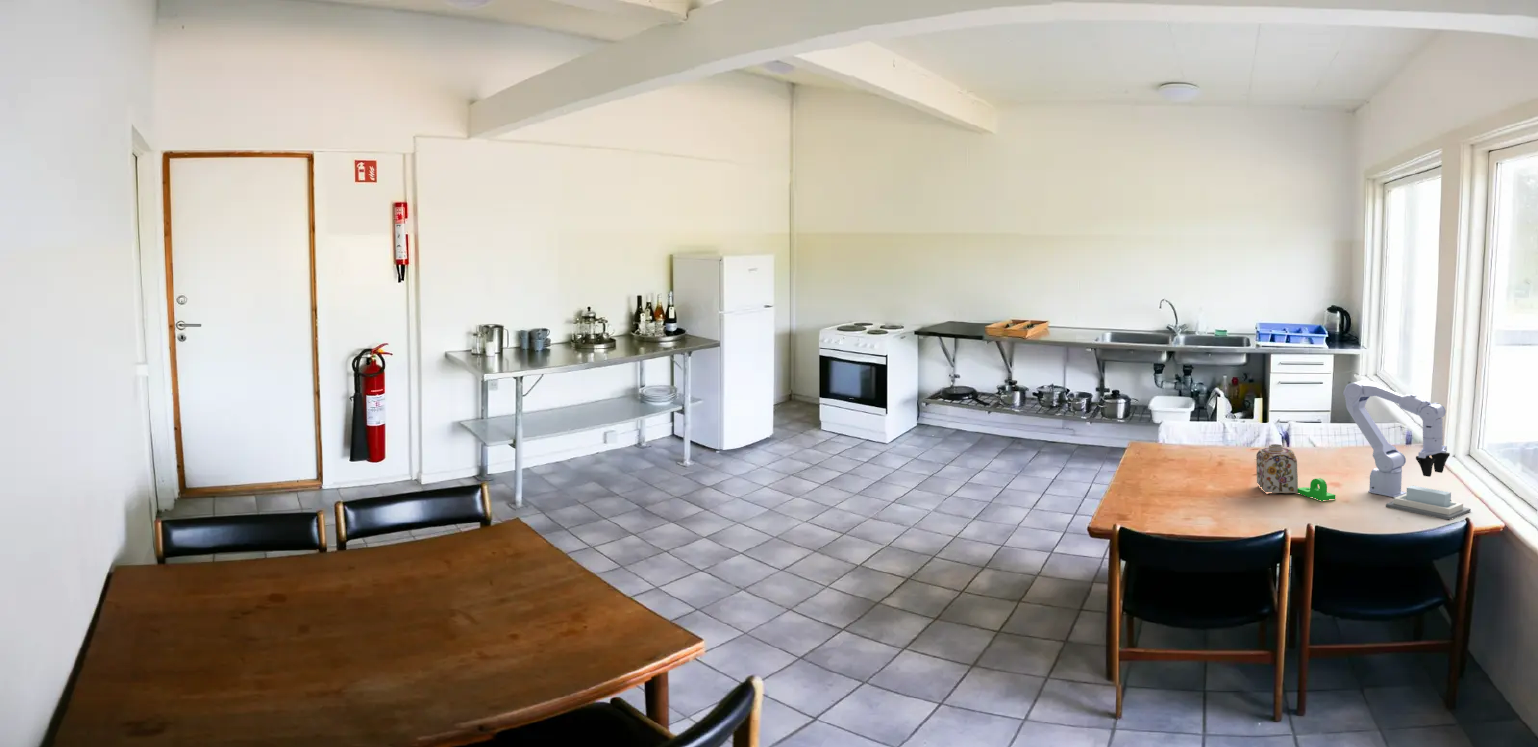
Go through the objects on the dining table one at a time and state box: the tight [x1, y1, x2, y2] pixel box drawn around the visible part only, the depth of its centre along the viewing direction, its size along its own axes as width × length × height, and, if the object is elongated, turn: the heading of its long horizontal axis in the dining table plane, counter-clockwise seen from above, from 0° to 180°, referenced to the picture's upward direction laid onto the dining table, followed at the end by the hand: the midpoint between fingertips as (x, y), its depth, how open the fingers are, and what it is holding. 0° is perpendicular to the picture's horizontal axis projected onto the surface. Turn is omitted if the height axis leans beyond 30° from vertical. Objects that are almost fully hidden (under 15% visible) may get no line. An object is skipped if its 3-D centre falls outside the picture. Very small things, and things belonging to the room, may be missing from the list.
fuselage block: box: [1406, 485, 1452, 508], centre depth 314 cm, size 12×4×6 cm, turn 28°
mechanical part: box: [1298, 477, 1336, 502], centre depth 335 cm, size 12×6×8 cm, turn 14°
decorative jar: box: [1255, 443, 1299, 493], centre depth 345 cm, size 12×12×18 cm
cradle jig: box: [1385, 492, 1472, 520], centre depth 314 cm, size 20×14×3 cm
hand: (1432, 474), depth 320 cm, fingers open, 7 cm apart
